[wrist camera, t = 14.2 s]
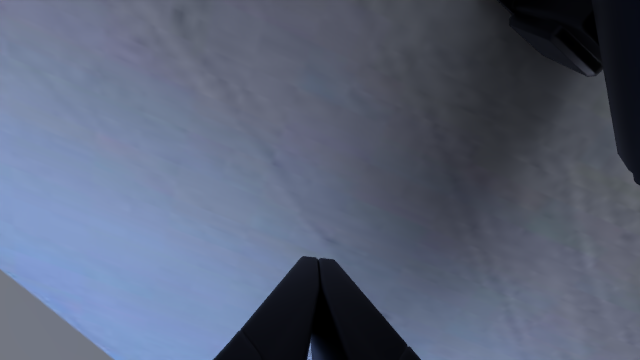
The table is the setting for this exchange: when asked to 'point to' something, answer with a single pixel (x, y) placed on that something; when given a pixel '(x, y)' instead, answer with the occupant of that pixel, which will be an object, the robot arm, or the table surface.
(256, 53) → the table surface
